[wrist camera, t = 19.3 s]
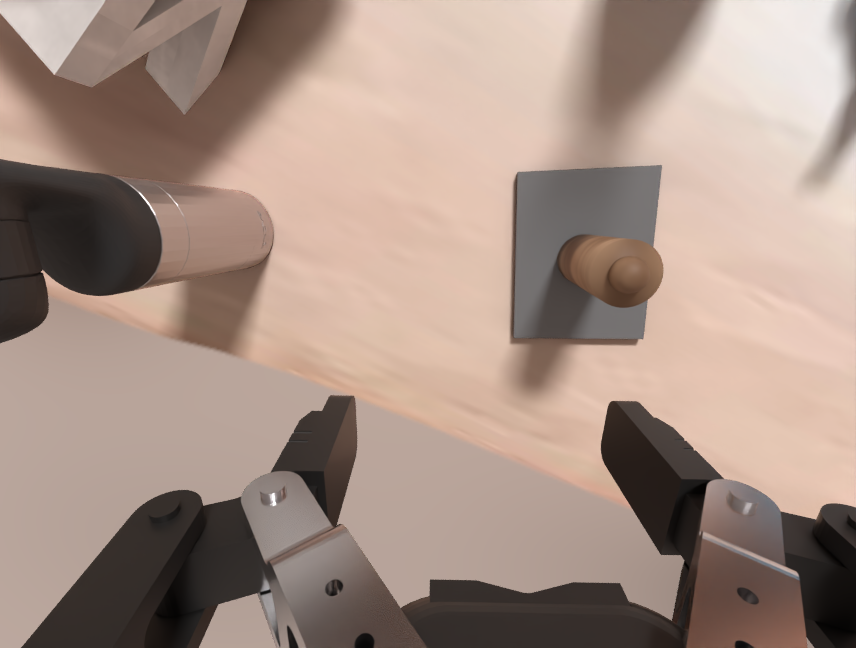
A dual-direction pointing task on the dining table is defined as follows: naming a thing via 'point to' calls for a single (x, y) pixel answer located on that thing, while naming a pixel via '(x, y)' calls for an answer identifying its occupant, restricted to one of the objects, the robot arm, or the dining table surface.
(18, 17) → the white x-leg bench
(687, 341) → the dining table surface
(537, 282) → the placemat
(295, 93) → the dining table surface
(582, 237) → the pepper mill
